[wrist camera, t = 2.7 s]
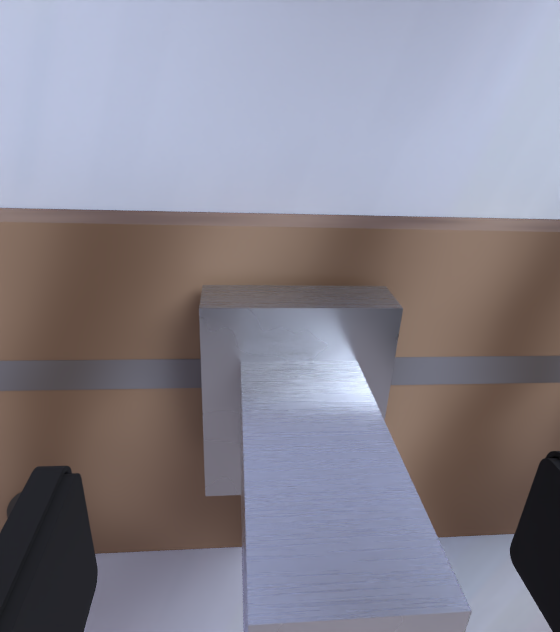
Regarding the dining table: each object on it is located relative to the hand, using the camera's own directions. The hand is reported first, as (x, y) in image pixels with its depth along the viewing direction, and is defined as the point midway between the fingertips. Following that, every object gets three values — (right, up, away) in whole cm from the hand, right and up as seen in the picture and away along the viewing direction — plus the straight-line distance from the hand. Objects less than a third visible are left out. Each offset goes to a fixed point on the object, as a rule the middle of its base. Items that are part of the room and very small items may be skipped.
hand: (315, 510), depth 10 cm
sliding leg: (0, +1, +5) cm, 5 cm away
